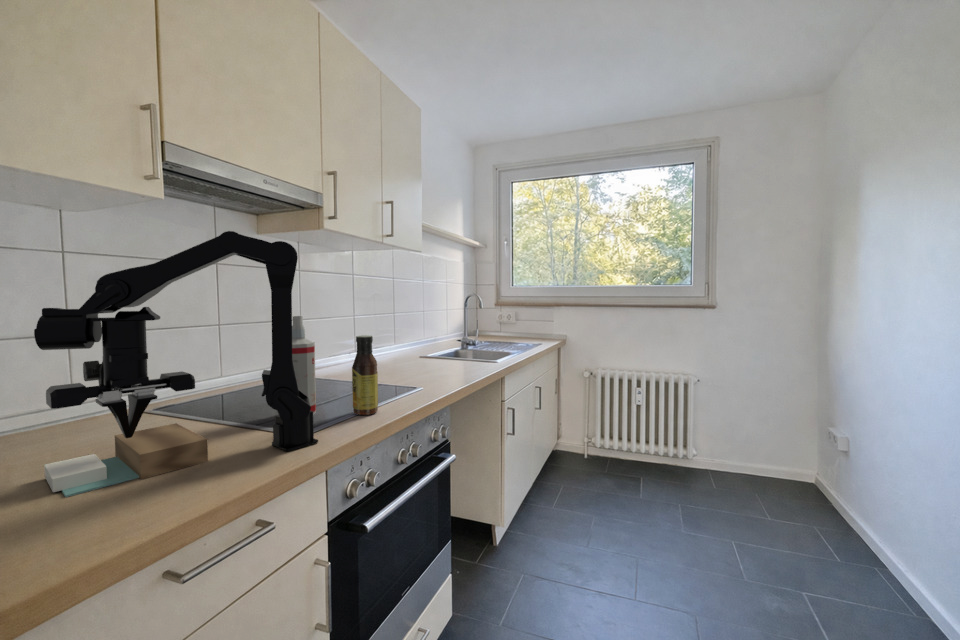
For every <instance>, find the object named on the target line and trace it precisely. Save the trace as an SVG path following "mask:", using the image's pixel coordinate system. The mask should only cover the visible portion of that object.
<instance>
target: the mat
mask: <svg viewBox="0 0 960 640" xmlns="http://www.w3.org/2000/svg"><path fill="white" fill-rule="evenodd" d="M100 460H101V461H102V462H103V463H104V464H105V465H106V468H107V479H104V480H100V481H96V482H92V483H88V484H85V485H81V486H77V487H73V488H69V489H65V490H61V491H60V492H61V493H62V494H63V496H64V497H65V498H69V497H72V496H75V495H80V494H83V493H87V492H92V491H95V490H98V489H102V488H106V487H110V486H113V485H117V484H121V483H125V482H129V481H132V480H137V479H140V478H139V475H138V474H136V473H135V472H134V471H133V470H132V469H131V468H130V467H128V466H127V465H126V464H125V463H124V462H123V461H122V460H120V459H119V458H118V457H116V456H113V457H109V458H104V459H100Z"/></svg>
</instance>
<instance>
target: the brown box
mask: <svg viewBox="0 0 960 640" xmlns="http://www.w3.org/2000/svg"><path fill="white" fill-rule="evenodd" d="M208 446H209V445H208V438H206V437H204V436H202V435H200V434H198V433H196V432H195V431H192V430H190V429H188V428H186V427H185V426H182V425H180V424H178V423H176V422H175V423H171V424H167V425H160V426H155V427H151V428H146V429H141V430H135V432H134V434H133V436H132V437H131V438H125V437H124V435H123V433H121V434H120V433H119V434H116V435H114V450H115V451H114V453H115V456H114V457H118V458H119V459H120V460H122V461H123V462H124V463H125V464H126V465H127V466H128V467H130V468H131V469H132V470H133V471H134V472H135V473H136V474H138V475H139V478H138V479H140V480H144V479H147V478H151V477H155V476H158V475H162V474H166V473H169V472H173V471H177V470H180V469H185V468H187V467H191V466H195V465H199V464H203V463H206V462H209V449H208V448H209V447H208Z"/></svg>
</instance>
